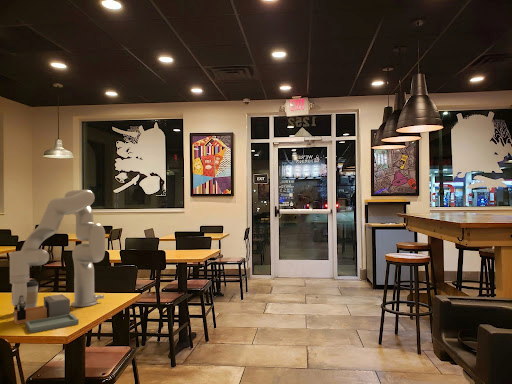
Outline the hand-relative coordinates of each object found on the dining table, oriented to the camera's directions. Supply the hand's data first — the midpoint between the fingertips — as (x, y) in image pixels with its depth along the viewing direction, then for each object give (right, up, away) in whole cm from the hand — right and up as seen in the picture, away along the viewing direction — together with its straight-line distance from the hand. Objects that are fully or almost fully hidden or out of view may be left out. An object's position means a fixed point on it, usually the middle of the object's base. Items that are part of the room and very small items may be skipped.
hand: (19, 317), depth 173 cm
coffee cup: (-7, -3, +18) cm, 20 cm away
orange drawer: (+3, -2, +2) cm, 5 cm away
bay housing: (+12, -2, +9) cm, 15 cm away
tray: (+18, -1, -7) cm, 20 cm away
